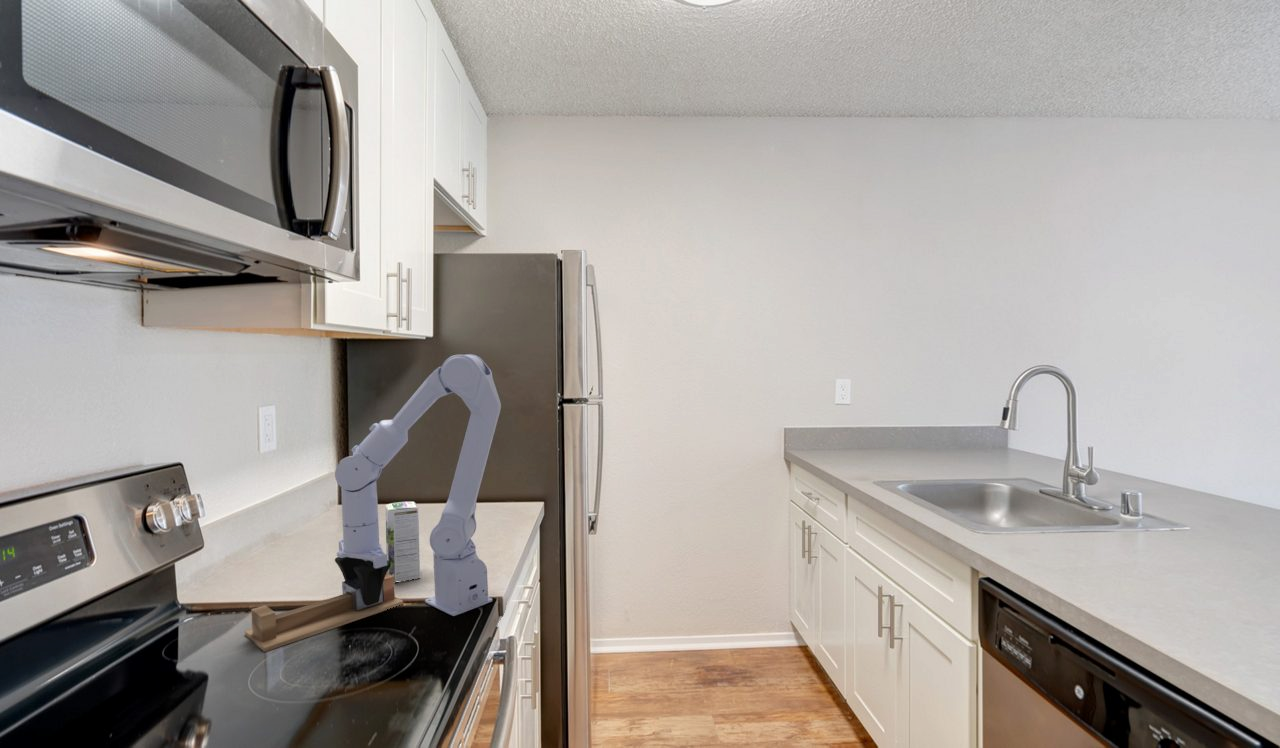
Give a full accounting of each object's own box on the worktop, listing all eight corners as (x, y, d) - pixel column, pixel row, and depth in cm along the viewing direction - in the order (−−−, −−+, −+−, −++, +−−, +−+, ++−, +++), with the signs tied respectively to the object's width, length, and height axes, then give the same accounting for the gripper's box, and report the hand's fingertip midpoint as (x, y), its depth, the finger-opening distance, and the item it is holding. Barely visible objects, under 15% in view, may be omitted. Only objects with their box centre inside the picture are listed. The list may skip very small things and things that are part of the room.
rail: (403, 604, 109) (402, 578, 109) (264, 652, 93) (263, 621, 92) (379, 591, 115) (378, 567, 115) (245, 634, 99) (243, 606, 98)
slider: (382, 602, 108) (382, 581, 108) (357, 610, 105) (356, 589, 104) (368, 594, 112) (367, 574, 111) (342, 602, 108) (342, 582, 108)
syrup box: (386, 575, 123) (383, 503, 123) (417, 569, 126) (414, 499, 126) (389, 584, 118) (386, 510, 118) (421, 578, 121) (418, 506, 120)
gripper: (320, 520, 109) (323, 595, 110) (356, 535, 100) (359, 617, 100) (359, 512, 115) (362, 583, 115) (397, 525, 105) (400, 603, 106)
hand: (364, 598), depth 108 cm, fingers closed on slider, 6 cm apart
